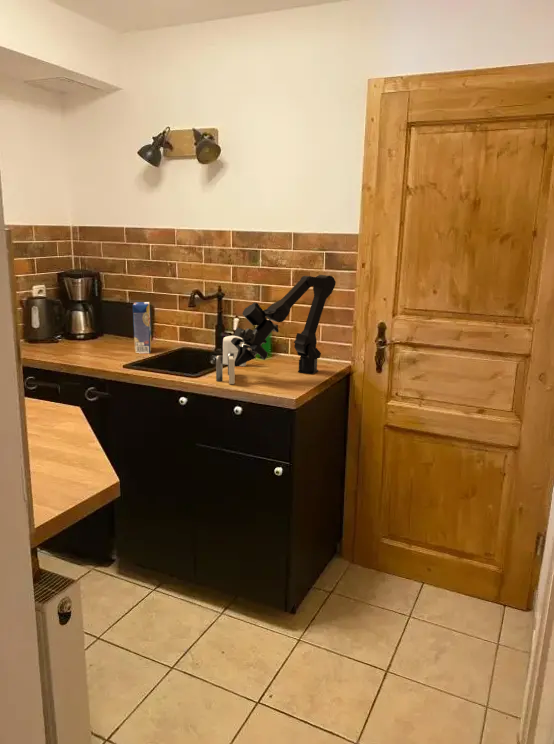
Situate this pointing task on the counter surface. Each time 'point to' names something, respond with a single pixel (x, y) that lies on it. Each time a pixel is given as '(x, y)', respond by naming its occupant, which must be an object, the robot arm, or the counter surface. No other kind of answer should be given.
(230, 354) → the hinge post
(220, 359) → the post
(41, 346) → the counter surface
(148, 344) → the beverage box
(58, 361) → the counter surface
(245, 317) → the robot arm
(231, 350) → the photo printer
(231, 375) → the off-white flat slab
